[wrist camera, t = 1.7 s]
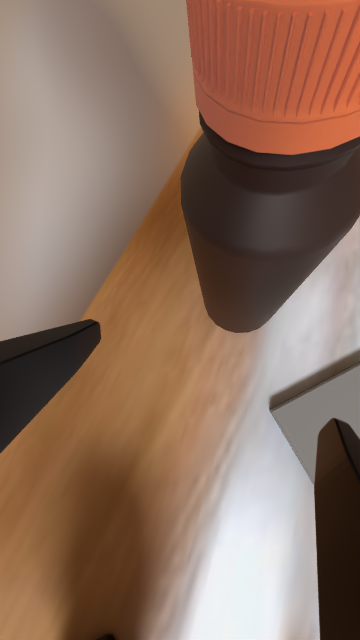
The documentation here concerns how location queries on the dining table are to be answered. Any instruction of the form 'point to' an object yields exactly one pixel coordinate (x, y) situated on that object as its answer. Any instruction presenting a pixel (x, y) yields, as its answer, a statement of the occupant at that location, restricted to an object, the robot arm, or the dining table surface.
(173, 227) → the dining table surface
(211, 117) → the brown bottle
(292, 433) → the mat
